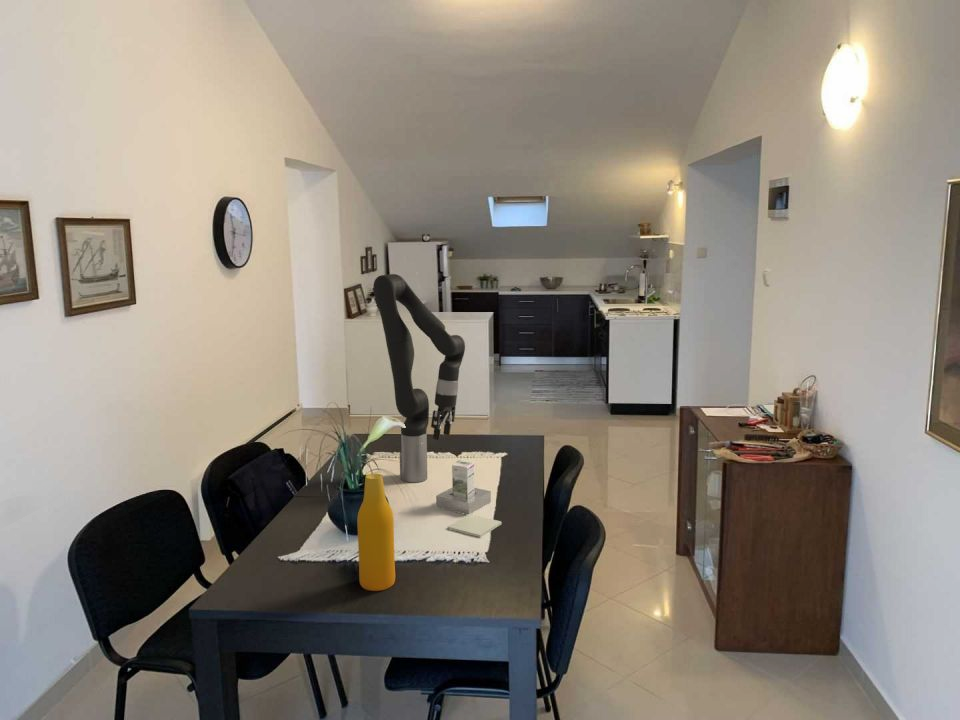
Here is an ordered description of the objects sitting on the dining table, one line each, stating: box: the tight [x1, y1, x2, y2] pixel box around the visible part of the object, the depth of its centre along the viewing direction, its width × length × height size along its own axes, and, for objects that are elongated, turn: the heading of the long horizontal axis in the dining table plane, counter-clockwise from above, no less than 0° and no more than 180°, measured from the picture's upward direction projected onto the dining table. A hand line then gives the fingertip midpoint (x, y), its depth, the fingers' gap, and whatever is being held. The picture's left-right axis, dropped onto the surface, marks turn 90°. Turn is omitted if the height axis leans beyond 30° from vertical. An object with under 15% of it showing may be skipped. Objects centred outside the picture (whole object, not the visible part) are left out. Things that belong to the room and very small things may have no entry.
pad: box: [447, 513, 503, 538], centre depth 225 cm, size 12×12×1 cm
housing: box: [435, 486, 492, 515], centre depth 243 cm, size 13×13×4 cm
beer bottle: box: [356, 473, 396, 592], centre depth 187 cm, size 9×9×29 cm
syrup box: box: [451, 460, 475, 499], centre depth 242 cm, size 6×6×14 cm
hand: (441, 436), depth 258 cm, fingers open, 8 cm apart
